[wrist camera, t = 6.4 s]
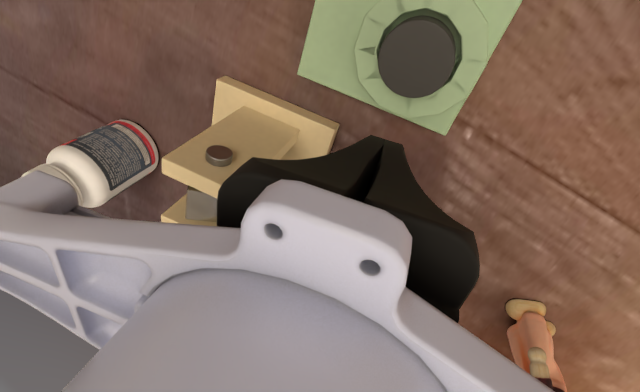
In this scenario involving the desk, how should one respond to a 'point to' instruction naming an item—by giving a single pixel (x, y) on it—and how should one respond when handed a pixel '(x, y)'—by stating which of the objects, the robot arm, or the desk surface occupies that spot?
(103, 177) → the pill bottle
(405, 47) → the button
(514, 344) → the grandmother figurine
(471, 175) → the desk surface
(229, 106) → the bracket
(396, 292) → the robot arm
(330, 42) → the button box
